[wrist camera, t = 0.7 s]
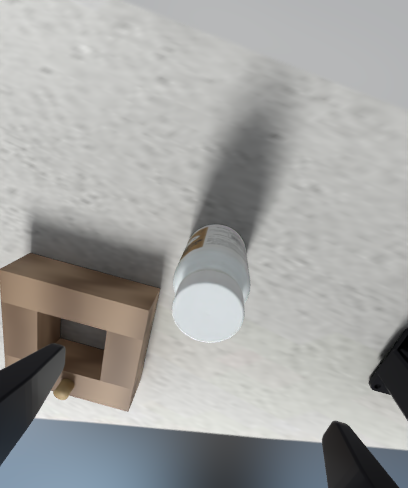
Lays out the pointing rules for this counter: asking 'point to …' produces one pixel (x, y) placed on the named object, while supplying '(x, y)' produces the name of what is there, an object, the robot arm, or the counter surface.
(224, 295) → the pill bottle
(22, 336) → the socket block
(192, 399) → the counter surface
